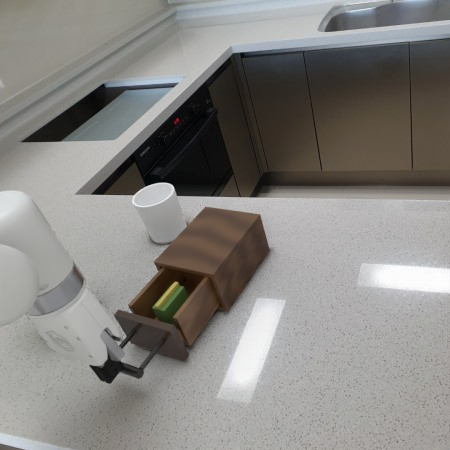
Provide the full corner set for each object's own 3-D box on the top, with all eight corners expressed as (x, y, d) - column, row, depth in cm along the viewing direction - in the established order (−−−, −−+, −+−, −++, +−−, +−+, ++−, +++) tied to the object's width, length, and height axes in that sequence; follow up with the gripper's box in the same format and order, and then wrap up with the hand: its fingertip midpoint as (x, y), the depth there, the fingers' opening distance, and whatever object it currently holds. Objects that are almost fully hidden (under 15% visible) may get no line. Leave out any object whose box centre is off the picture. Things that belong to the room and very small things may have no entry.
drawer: (159, 398, 67) (140, 368, 63) (103, 377, 72) (82, 348, 68) (234, 291, 83) (224, 261, 78) (184, 279, 87) (171, 251, 83)
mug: (196, 231, 101) (181, 192, 95) (159, 251, 97) (141, 212, 91) (175, 212, 108) (160, 175, 102) (140, 230, 105) (122, 192, 99)
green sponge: (193, 307, 80) (182, 283, 76) (174, 332, 76) (162, 307, 72) (182, 304, 81) (170, 280, 77) (162, 328, 77) (149, 304, 73)
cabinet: (227, 312, 80) (213, 274, 75) (170, 297, 85) (153, 261, 80) (270, 250, 91) (260, 214, 86) (217, 241, 97) (205, 206, 91)
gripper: (-17, 297, 56) (58, 382, 67) (69, 324, 50) (135, 412, 61) (32, 255, 61) (94, 341, 72) (116, 275, 55) (169, 365, 66)
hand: (113, 373), depth 66 cm, fingers closed
